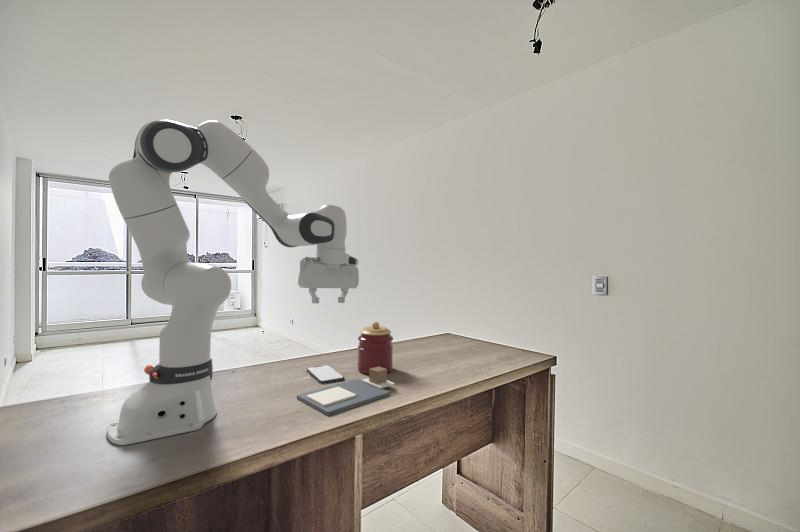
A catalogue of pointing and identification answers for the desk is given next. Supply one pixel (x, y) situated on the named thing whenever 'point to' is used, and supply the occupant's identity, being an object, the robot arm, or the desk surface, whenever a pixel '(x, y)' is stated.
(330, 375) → the smartphone
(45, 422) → the desk surface
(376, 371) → the tan cube with base
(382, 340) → the canister
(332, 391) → the board
